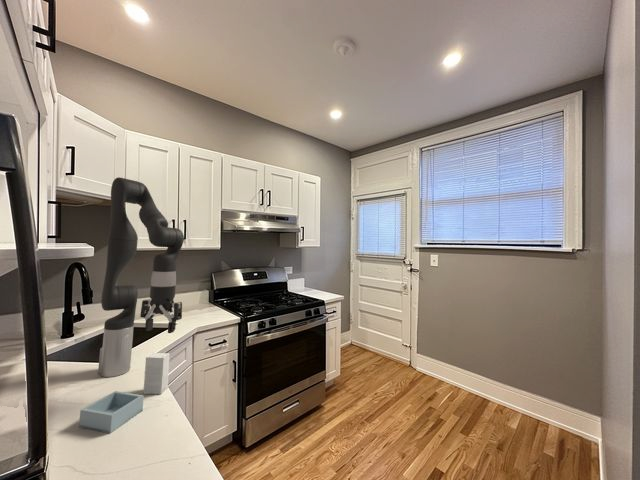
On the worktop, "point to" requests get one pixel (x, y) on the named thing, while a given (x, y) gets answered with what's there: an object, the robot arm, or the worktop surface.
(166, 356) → the skincare box
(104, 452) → the worktop surface
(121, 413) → the tray
